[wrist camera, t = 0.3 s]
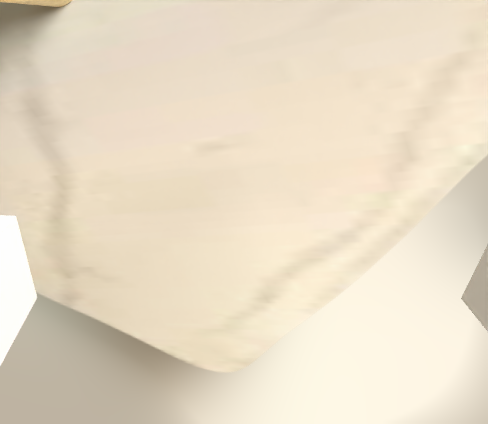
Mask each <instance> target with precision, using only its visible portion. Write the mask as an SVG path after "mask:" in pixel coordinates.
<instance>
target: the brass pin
mask: <svg viewBox="0 0 488 424" xmlns="http://www.w3.org/2000/svg"><path fill="white" fill-rule="evenodd" d="M71 1H72V0H0V2H6V3H18V4H30V5H41V6H53V7H61V6H65V5H67V4H69V3H70V2H71Z"/></svg>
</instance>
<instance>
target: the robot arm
mask: <svg viewBox="0 0 488 424" xmlns="http://www.w3.org/2000/svg"><path fill="white" fill-rule="evenodd" d="M36 299H37V295H36V291H35V287H34V283H33V279H32V276H31V272H30V268H29V264H28V260H27V256H26V253H25V249H24V245H23V241H22V237H21V233H20V230H19V226H18V222H17V218H16V216H1V215H0V366H1V364H2V362H3V360H4V358H5V356H6V354H7V352H8V351H9V349H10V347H11V345H12V343H13V341H14V339H15V338H16V336H17V334H18V332H19V330H20V329H21V327H22V325H23V323H24V321H25V319H26V317H27V316H28V314H29V312H30V310H31V308H32V306H33V304H34V303H35V301H36ZM461 299H462V300H463V301H464V302H465V304H466V305H467V306H468V307H469V309H470V310H471V311H472V313H473V314H474V315H475V316H476V317H477V319H478V320H479V321H480V322H481V324H482V325H483V326H484V327H485V329H486V330H487V331H488V245H487V247H486V249H485V252H484V254H483V255H482V257H481V259H480V262H479V264H478V266H477V268H476V270H475V272H474V273H473V275H472V278H471V280H470V282H469V284H468V286H467V288H466V290H465V292H464V294H463V296H462V298H461Z"/></svg>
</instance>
